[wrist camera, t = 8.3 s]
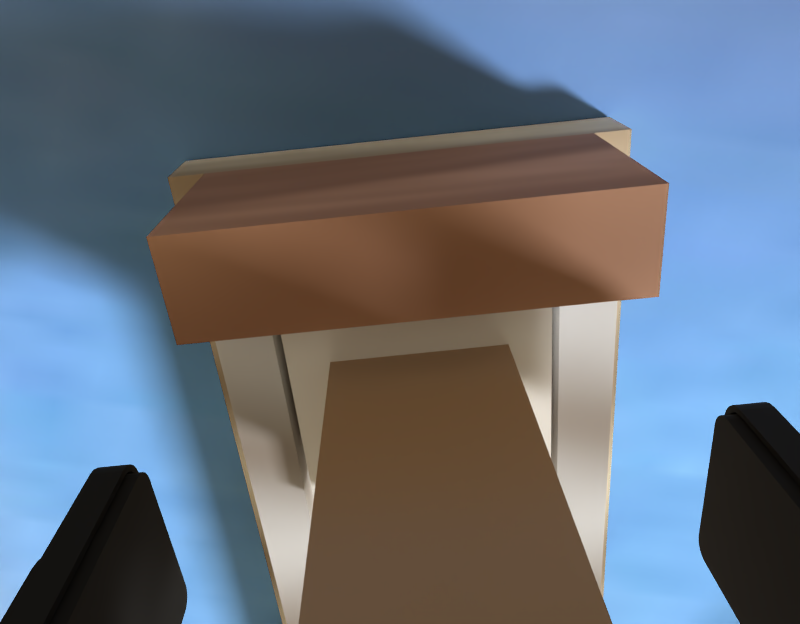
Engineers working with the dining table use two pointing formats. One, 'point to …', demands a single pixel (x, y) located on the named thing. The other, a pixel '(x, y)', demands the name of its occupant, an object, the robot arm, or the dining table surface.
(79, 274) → the dining table surface
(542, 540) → the slider
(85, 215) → the dining table surface
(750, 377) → the dining table surface
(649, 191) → the track
